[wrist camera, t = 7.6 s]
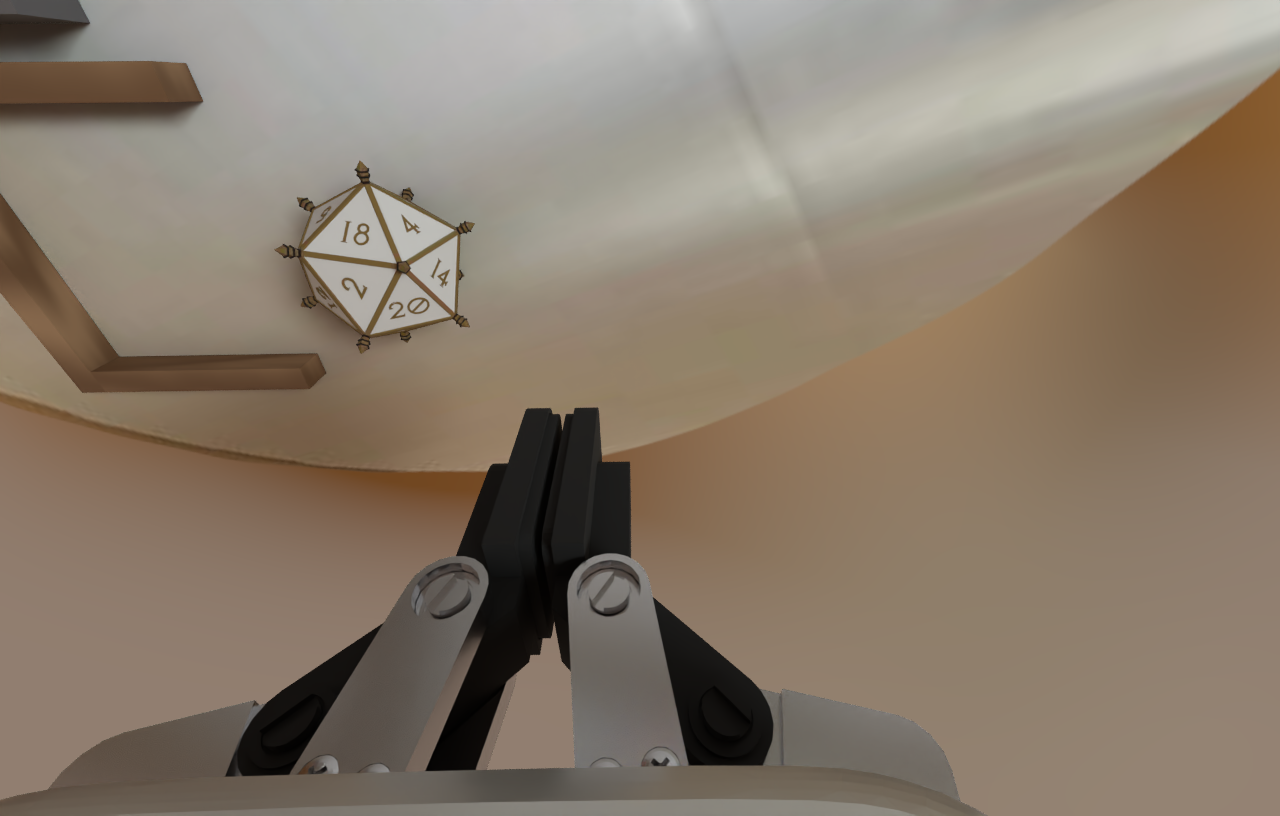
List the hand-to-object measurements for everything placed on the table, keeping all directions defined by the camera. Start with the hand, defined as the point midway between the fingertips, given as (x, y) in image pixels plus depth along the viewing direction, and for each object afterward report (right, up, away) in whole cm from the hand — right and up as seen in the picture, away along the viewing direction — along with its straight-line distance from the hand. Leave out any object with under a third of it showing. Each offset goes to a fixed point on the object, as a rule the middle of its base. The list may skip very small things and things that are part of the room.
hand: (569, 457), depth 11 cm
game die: (-11, +11, +16) cm, 22 cm away
